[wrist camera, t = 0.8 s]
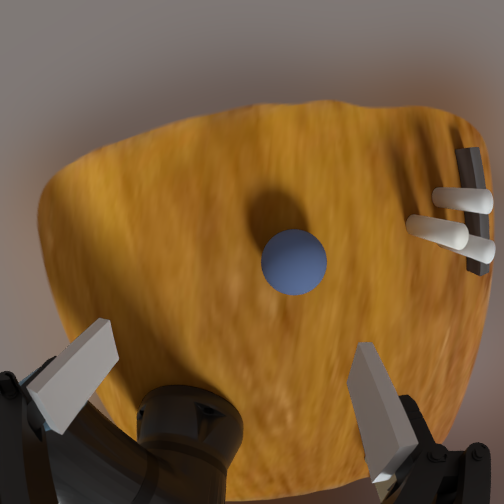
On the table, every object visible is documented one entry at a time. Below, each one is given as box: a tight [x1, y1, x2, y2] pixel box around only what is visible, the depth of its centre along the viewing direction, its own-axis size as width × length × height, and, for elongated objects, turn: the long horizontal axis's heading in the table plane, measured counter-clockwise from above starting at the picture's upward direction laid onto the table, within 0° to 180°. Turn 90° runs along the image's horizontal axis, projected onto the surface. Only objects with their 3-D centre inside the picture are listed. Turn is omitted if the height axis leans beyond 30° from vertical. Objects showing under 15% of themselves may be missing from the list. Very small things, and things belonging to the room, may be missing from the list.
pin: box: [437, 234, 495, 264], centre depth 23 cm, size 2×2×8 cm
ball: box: [261, 229, 327, 295], centre depth 25 cm, size 6×6×6 cm
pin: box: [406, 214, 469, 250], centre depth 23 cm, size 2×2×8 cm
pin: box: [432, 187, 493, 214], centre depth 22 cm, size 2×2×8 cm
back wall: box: [455, 147, 489, 276], centre depth 25 cm, size 2×16×3 cm, turn 13°
